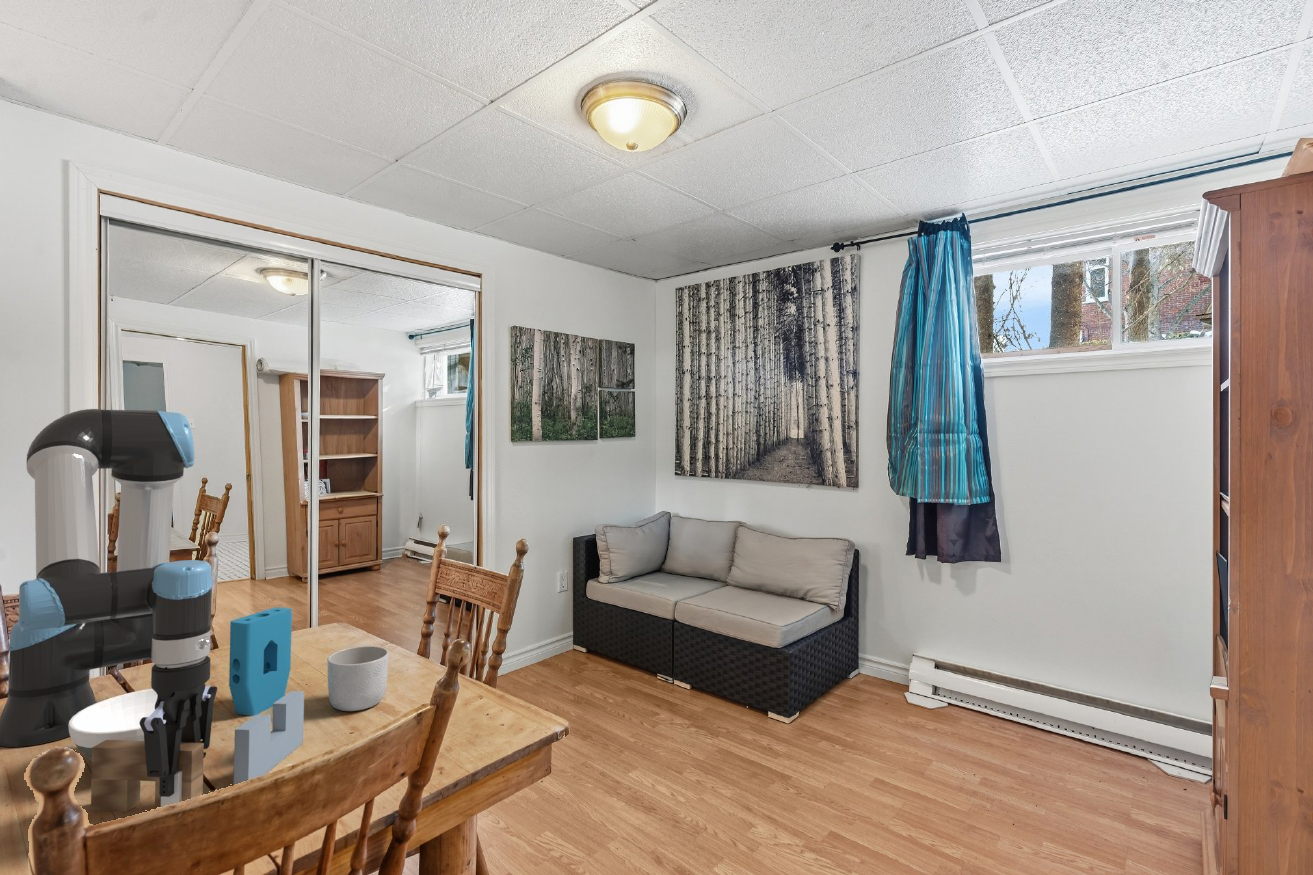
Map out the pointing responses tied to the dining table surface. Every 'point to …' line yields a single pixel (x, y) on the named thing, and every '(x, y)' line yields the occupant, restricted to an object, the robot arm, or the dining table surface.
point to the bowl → (112, 720)
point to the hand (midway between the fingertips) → (178, 806)
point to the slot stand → (268, 738)
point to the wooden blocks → (137, 774)
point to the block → (259, 659)
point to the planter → (357, 677)
